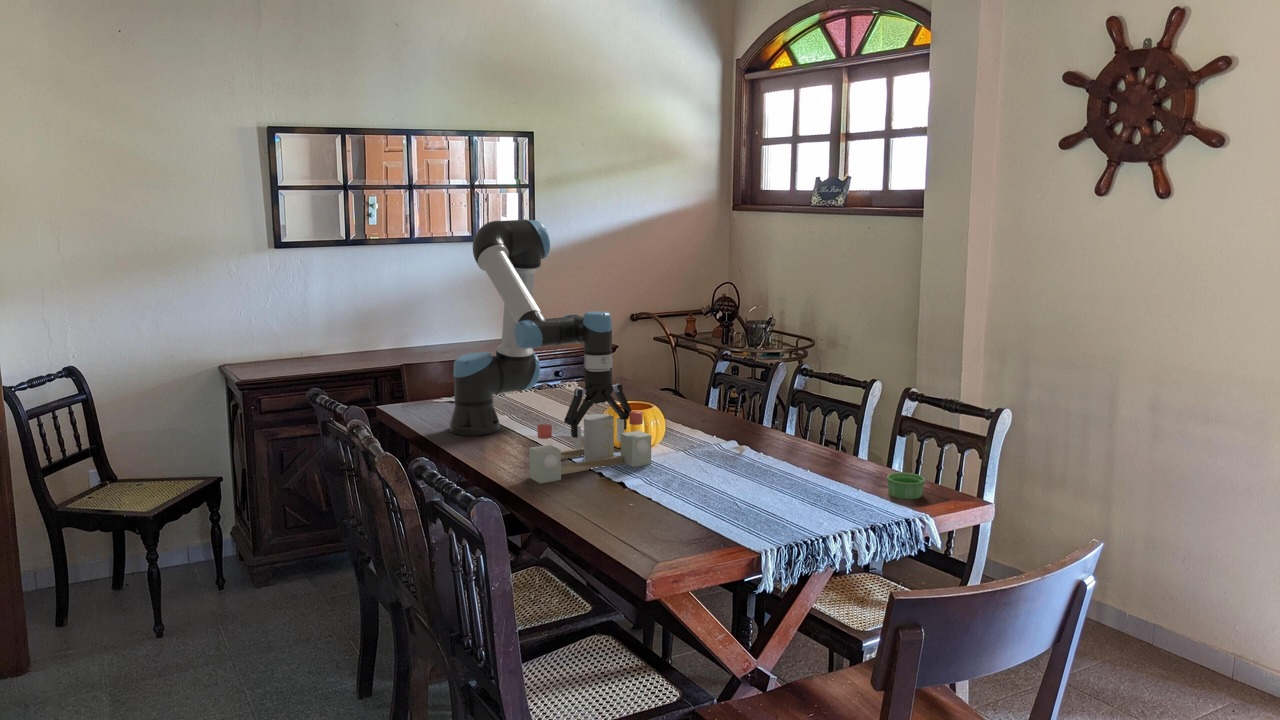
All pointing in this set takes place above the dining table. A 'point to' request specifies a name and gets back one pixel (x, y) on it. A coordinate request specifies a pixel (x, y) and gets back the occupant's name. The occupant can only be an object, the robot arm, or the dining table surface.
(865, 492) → the dining table surface
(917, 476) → the ramekin
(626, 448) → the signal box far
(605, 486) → the dining table surface
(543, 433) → the block
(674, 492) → the dining table surface
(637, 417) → the block
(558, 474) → the block
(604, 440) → the grey upright cylinder
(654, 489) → the dining table surface
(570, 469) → the channel
